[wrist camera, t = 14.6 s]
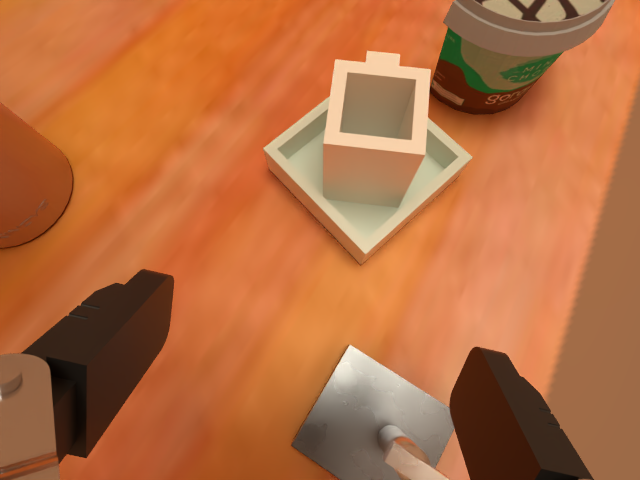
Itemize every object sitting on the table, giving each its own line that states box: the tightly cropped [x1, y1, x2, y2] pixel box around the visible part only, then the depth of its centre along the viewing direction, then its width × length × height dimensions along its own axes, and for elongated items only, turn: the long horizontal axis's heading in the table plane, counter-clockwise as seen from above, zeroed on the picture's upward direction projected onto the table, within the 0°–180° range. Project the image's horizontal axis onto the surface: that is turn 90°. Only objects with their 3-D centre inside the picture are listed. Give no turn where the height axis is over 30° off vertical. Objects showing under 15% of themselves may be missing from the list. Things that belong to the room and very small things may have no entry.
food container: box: [429, 0, 615, 114], centre depth 28 cm, size 12×6×10 cm, turn 124°
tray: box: [263, 96, 473, 265], centre depth 30 cm, size 10×10×3 cm
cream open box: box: [323, 51, 431, 208], centre depth 27 cm, size 6×7×8 cm
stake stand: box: [291, 345, 454, 480], centre depth 22 cm, size 8×7×8 cm
